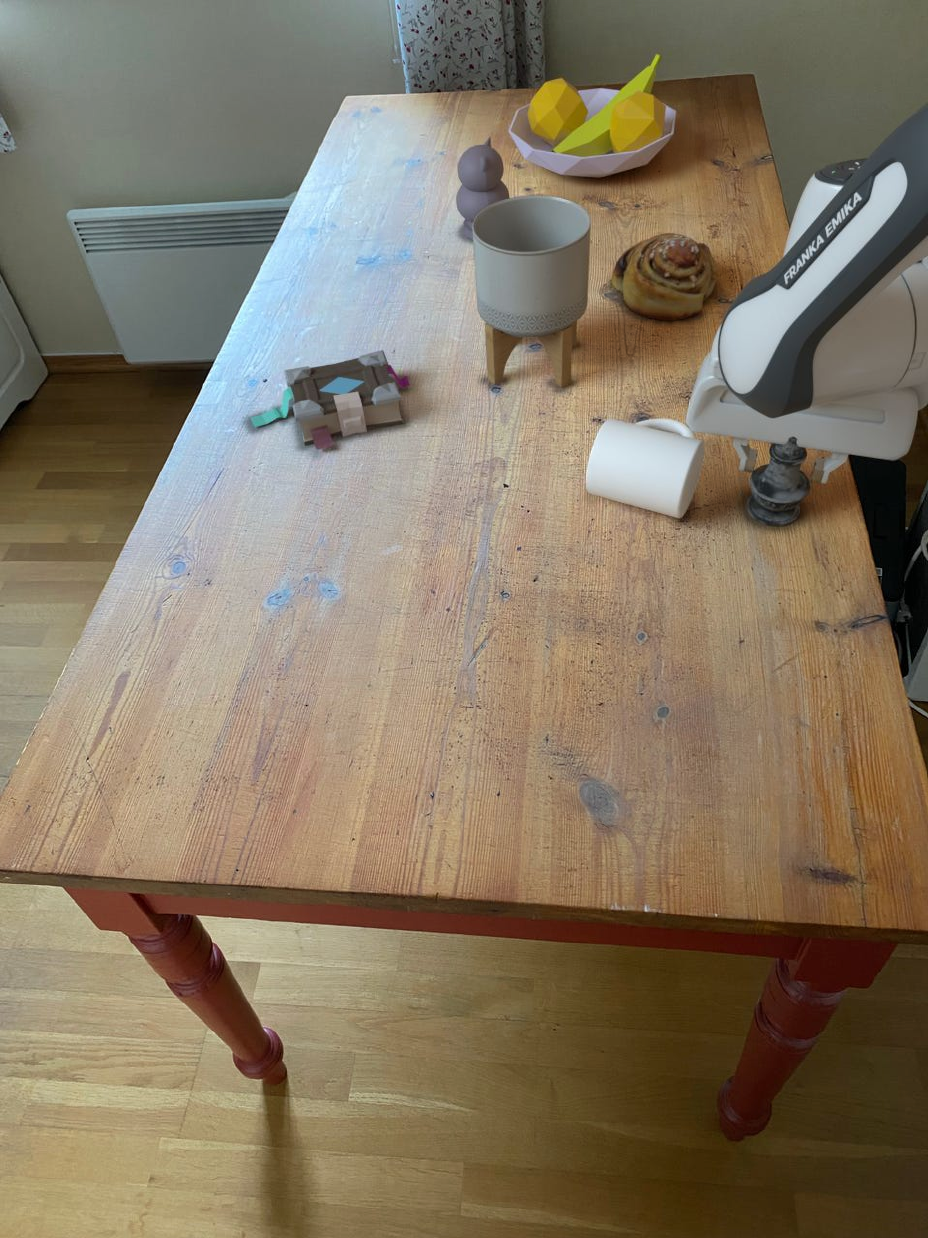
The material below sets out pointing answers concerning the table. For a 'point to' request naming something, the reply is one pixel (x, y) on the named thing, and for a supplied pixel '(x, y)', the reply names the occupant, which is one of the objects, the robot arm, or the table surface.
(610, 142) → the fruit bowl
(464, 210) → the grey bird figurine
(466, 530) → the table surface
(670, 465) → the mug
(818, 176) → the robot arm
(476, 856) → the table surface
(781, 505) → the chess piece
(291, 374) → the book
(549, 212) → the planter
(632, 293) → the pastry
